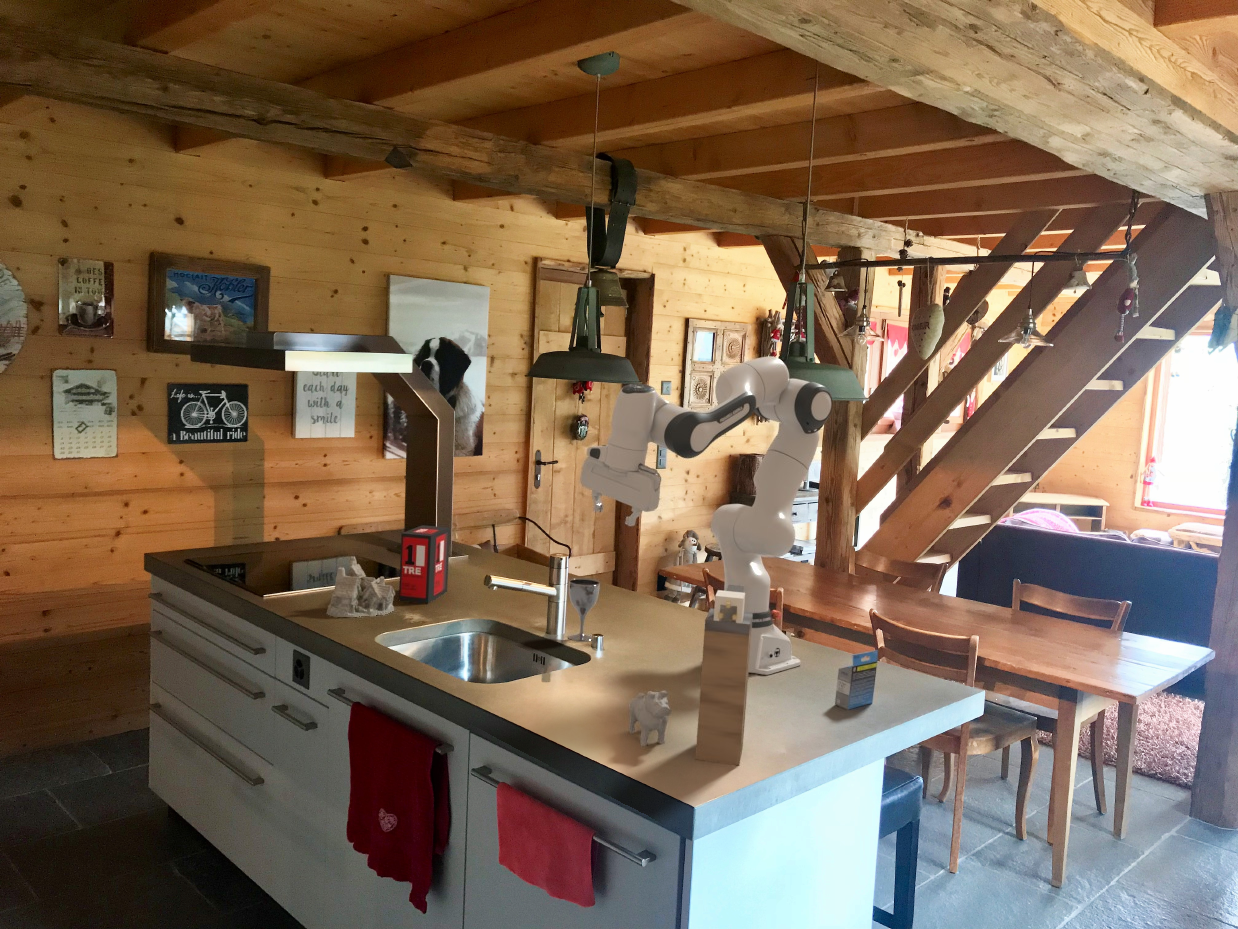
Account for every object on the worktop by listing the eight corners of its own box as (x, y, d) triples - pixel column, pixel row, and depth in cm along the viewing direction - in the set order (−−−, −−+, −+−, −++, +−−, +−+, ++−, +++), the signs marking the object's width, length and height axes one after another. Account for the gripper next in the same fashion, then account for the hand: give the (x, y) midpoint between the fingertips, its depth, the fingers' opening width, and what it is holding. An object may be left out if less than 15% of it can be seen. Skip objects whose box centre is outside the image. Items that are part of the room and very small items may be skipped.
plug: (722, 599, 188) (724, 576, 188) (747, 601, 187) (749, 579, 187) (712, 622, 169) (714, 597, 169) (740, 625, 168) (742, 600, 168)
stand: (700, 741, 182) (710, 608, 180) (742, 747, 181) (752, 612, 178) (695, 759, 173) (705, 619, 171) (739, 765, 172) (750, 624, 170)
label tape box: (859, 698, 214) (863, 645, 213) (874, 704, 211) (879, 649, 210) (834, 705, 208) (838, 650, 207) (848, 710, 205) (853, 655, 204)
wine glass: (596, 634, 254) (599, 579, 252) (596, 642, 246) (599, 585, 245) (566, 633, 253) (569, 577, 252) (565, 641, 246) (569, 584, 244)
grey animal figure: (648, 754, 175) (652, 698, 174) (624, 728, 187) (627, 676, 186) (675, 751, 177) (678, 696, 176) (649, 726, 188) (652, 674, 187)
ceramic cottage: (317, 614, 257) (323, 559, 256) (352, 604, 272) (358, 552, 271) (367, 625, 252) (373, 570, 251) (400, 614, 267) (406, 562, 266)
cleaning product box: (419, 589, 293) (422, 525, 291) (447, 592, 292) (450, 527, 290) (398, 601, 277) (401, 533, 275) (428, 604, 275) (431, 536, 274)
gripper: (671, 470, 203) (658, 532, 206) (600, 444, 215) (589, 502, 218) (653, 472, 198) (640, 535, 201) (581, 446, 210) (570, 505, 213)
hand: (613, 518), depth 210 cm, fingers open, 8 cm apart
